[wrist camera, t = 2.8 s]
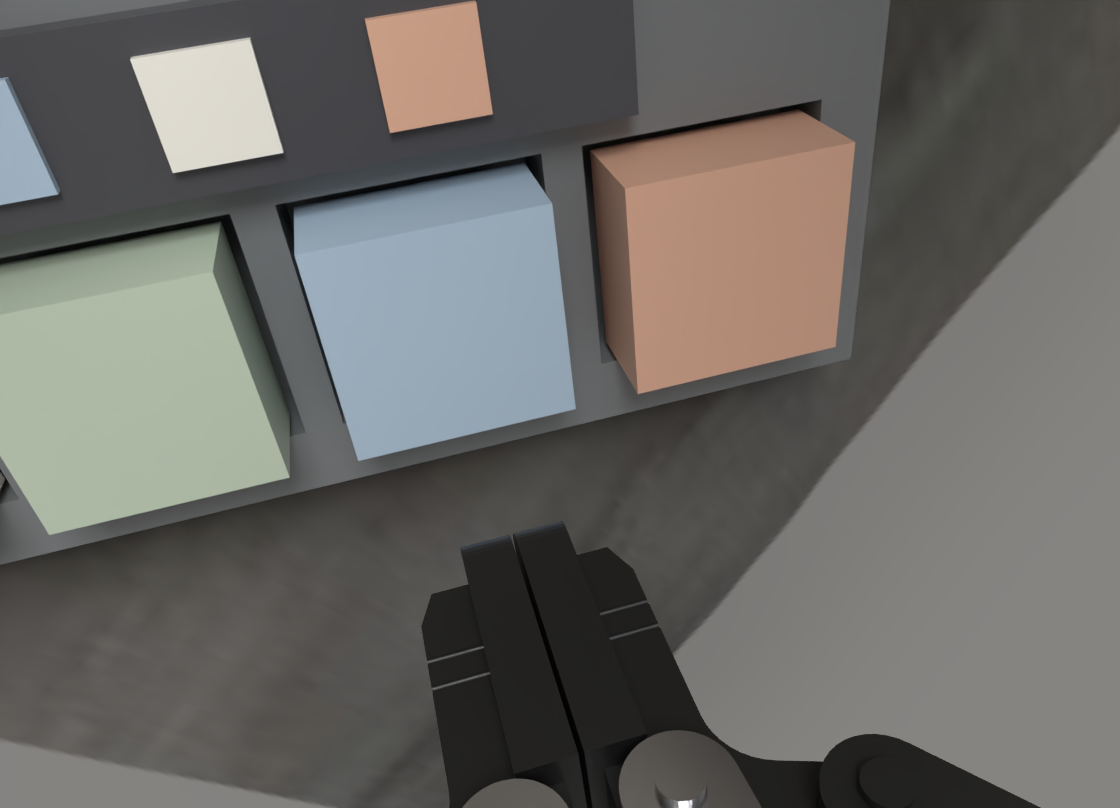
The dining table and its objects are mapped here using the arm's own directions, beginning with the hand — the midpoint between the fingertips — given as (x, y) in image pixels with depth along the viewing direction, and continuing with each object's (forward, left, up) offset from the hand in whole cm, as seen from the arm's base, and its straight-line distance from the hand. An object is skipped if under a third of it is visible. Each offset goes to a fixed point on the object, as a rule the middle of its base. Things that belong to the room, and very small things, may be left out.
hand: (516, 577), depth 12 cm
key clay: (0, +7, -9) cm, 11 cm away
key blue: (0, 0, -9) cm, 9 cm away
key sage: (0, -6, -9) cm, 11 cm away
